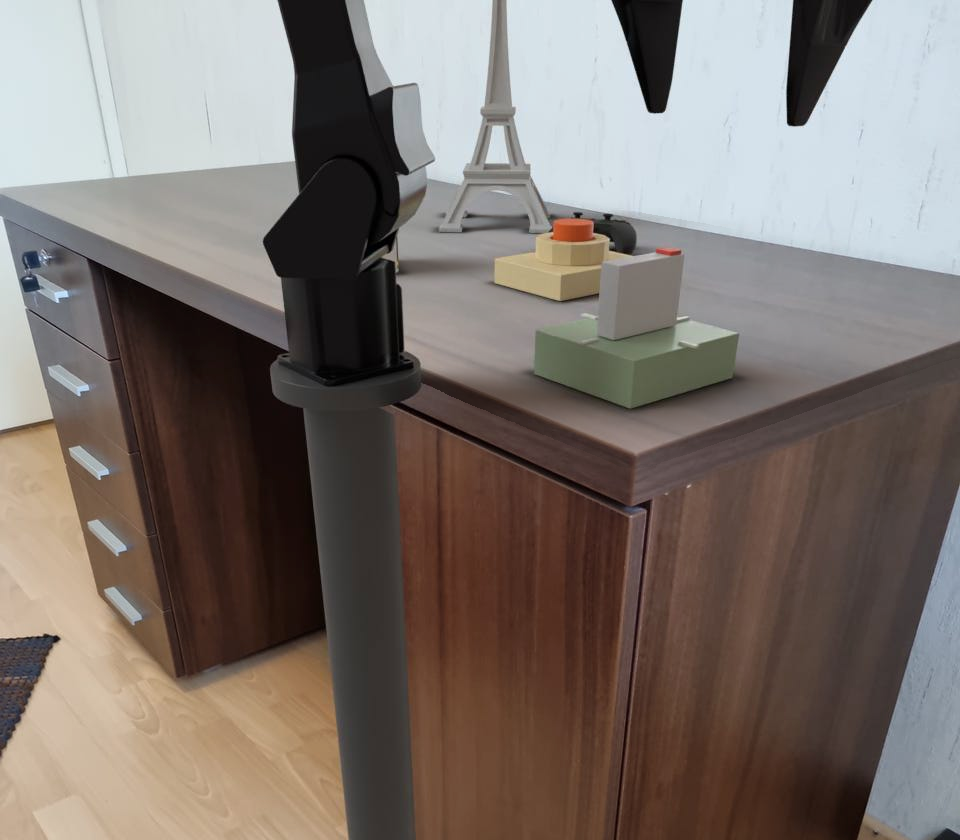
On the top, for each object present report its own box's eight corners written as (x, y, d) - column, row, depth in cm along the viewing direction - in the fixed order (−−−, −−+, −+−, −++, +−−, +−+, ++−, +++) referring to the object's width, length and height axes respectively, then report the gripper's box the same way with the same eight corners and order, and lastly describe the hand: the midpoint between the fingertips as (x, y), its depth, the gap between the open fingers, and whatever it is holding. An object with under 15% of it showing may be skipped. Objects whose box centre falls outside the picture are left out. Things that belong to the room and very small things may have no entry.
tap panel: (636, 412, 56) (641, 360, 55) (526, 372, 63) (528, 325, 61) (741, 380, 62) (748, 332, 60) (629, 346, 68) (633, 302, 67)
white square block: (613, 340, 59) (620, 261, 56) (596, 335, 60) (601, 257, 57) (676, 325, 62) (685, 250, 59) (658, 320, 63) (666, 246, 60)
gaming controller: (541, 243, 97) (554, 194, 98) (549, 274, 102) (562, 227, 103) (631, 250, 94) (644, 199, 95) (635, 281, 99) (647, 232, 100)
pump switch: (560, 301, 80) (562, 252, 78) (494, 283, 86) (494, 237, 84) (646, 284, 86) (650, 237, 84) (579, 268, 92) (581, 224, 89)
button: (571, 247, 82) (572, 226, 81) (544, 241, 84) (545, 221, 83) (600, 243, 84) (602, 222, 83) (573, 237, 86) (574, 217, 85)
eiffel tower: (552, 233, 108) (566, -93, 91) (438, 231, 108) (432, -93, 92) (549, 214, 119) (561, -79, 103) (446, 213, 120) (442, -79, 103)
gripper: (1095, -314, 37) (975, 127, 46) (730, -232, 49) (689, 104, 58) (951, -383, 31) (843, 137, 40) (578, -271, 44) (557, 109, 52)
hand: (721, 119), depth 48 cm, fingers open, 9 cm apart
